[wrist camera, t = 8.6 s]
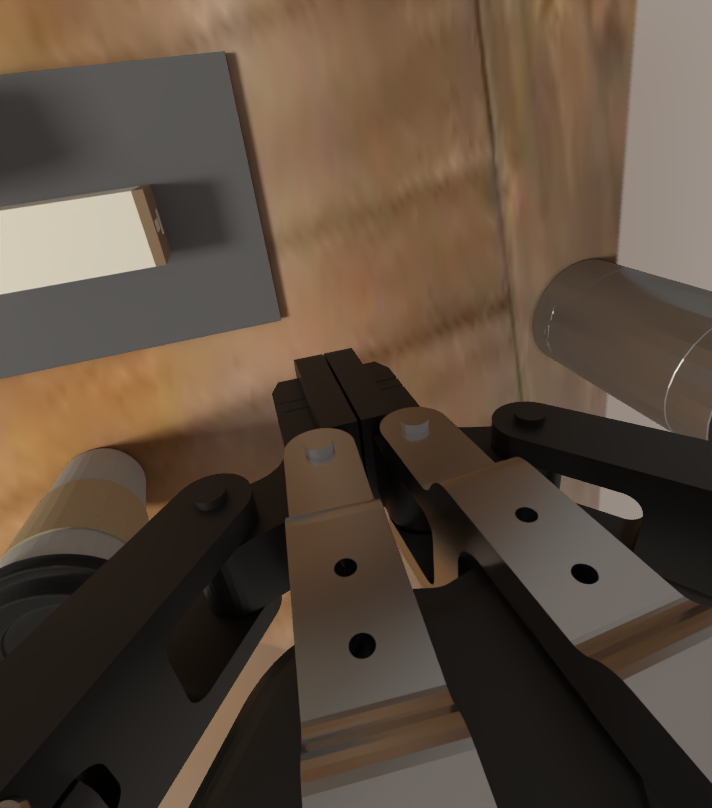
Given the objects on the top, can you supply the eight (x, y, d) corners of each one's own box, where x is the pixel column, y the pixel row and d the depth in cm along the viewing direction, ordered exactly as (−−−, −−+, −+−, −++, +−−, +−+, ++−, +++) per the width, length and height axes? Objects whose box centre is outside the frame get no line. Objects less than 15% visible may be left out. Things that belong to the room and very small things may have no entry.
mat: (224, 53, 27) (224, 51, 26) (280, 317, 35) (281, 320, 34) (-274, 105, 23) (-285, 104, 22) (-80, 392, 31) (-85, 396, 30)
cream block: (143, 189, 25) (-45, 217, 23) (167, 264, 27) (-4, 295, 25) (150, 184, 28) (-13, 208, 27) (171, 251, 30) (21, 278, 29)
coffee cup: (13, 497, 36) (-93, 688, 23) (76, 405, 34) (-2, 559, 21) (132, 539, 41) (97, 717, 28) (193, 460, 39) (186, 614, 26)
